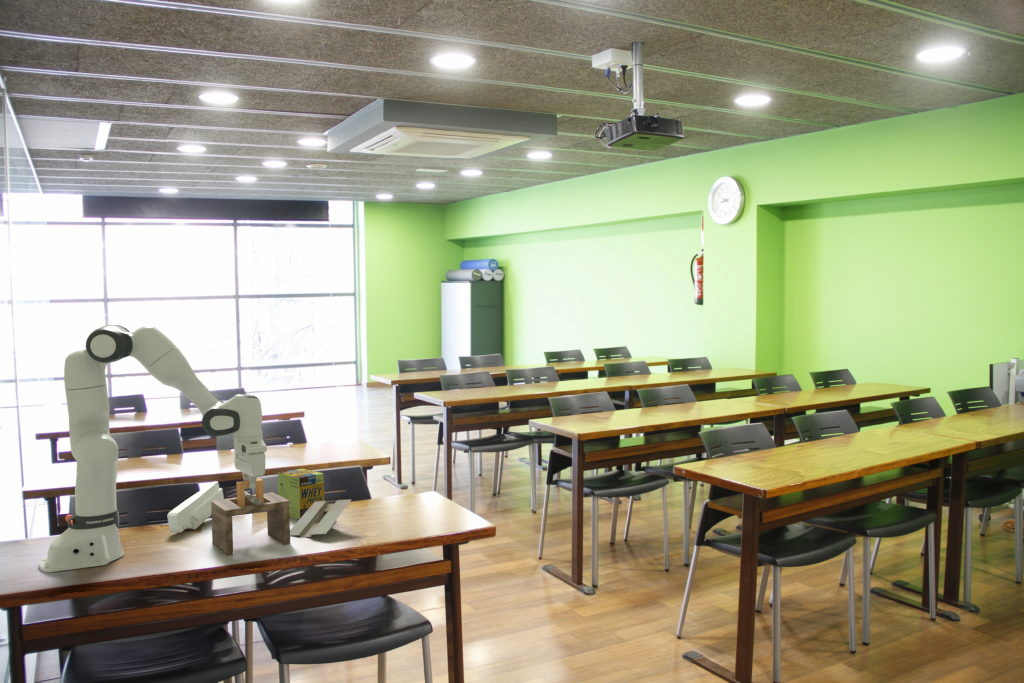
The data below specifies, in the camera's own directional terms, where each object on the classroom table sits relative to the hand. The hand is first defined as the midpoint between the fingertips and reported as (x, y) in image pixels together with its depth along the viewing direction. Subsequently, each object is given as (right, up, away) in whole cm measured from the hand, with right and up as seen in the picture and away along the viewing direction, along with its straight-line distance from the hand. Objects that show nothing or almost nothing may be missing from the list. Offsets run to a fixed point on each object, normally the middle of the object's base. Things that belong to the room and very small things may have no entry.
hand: (249, 486), depth 249 cm
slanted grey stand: (+19, -18, +13) cm, 29 cm away
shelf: (0, -19, +1) cm, 19 cm away
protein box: (+6, -18, +38) cm, 43 cm away
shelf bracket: (-27, -19, +25) cm, 41 cm away
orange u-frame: (0, -8, 0) cm, 8 cm away
